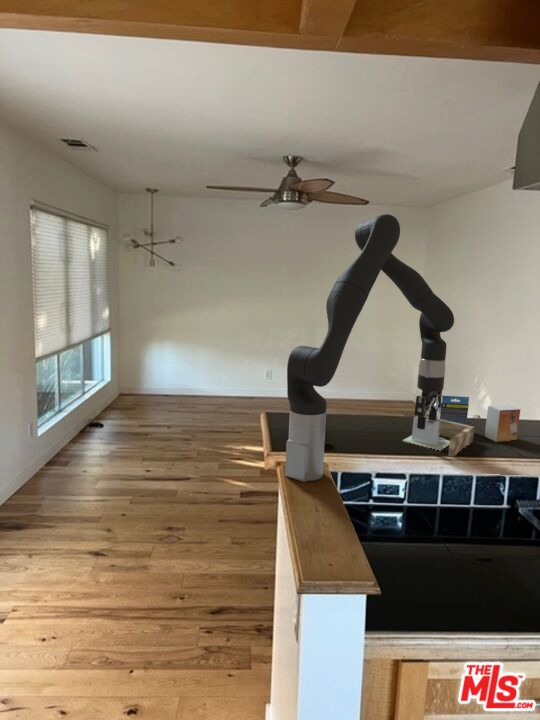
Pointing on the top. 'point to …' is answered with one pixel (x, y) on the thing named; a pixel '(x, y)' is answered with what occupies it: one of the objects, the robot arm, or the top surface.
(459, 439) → the corner walls
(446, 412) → the label tape box
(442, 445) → the pad
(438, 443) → the angle bracket
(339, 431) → the top surface
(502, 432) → the small box
